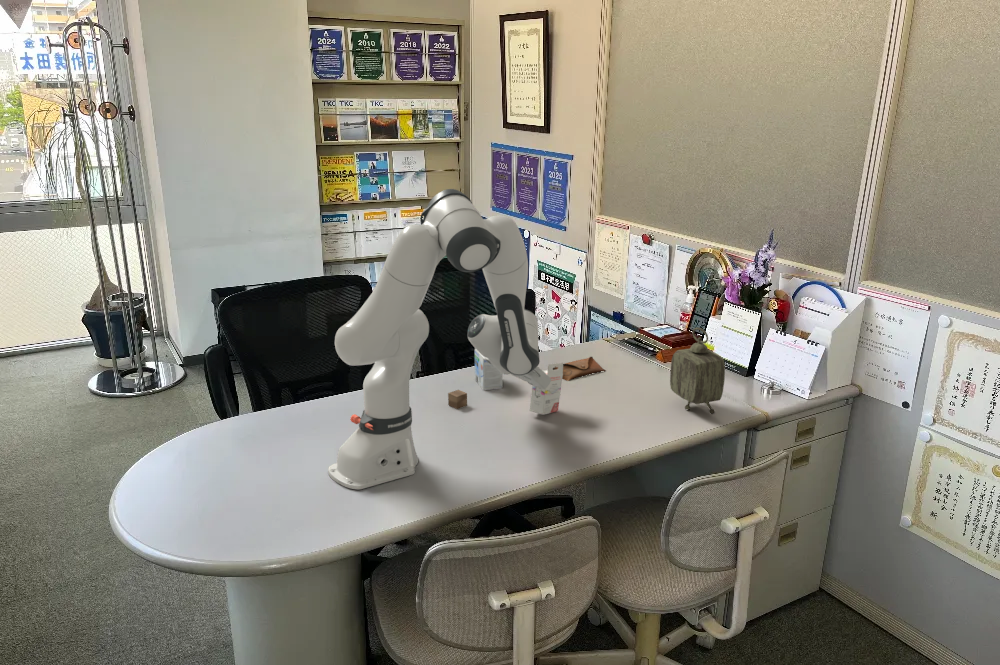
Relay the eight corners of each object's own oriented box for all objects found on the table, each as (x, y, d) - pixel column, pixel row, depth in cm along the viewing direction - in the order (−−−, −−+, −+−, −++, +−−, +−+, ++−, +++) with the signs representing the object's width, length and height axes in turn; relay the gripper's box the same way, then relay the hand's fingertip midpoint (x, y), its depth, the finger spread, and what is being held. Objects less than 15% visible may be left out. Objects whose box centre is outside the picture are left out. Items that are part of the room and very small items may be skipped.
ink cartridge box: (544, 407, 216) (551, 359, 214) (558, 411, 213) (565, 362, 211) (528, 411, 209) (534, 361, 207) (542, 415, 206) (549, 364, 204)
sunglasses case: (568, 381, 236) (561, 362, 237) (555, 386, 242) (549, 367, 243) (608, 370, 246) (601, 352, 247) (595, 375, 252) (589, 357, 253)
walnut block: (457, 409, 214) (456, 396, 213) (448, 405, 217) (448, 393, 216) (467, 405, 217) (467, 393, 216) (458, 401, 220) (458, 389, 219)
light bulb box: (474, 379, 238) (473, 348, 235) (493, 377, 240) (493, 346, 237) (483, 390, 229) (482, 358, 225) (503, 388, 231) (503, 356, 227)
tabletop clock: (721, 415, 210) (729, 333, 202) (695, 420, 207) (702, 337, 199) (690, 398, 223) (697, 320, 215) (666, 402, 219) (671, 323, 212)
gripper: (539, 358, 190) (566, 385, 199) (493, 339, 206) (519, 365, 215) (526, 378, 189) (553, 404, 198) (480, 357, 205) (507, 382, 213)
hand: (535, 383), depth 206 cm, fingers closed
